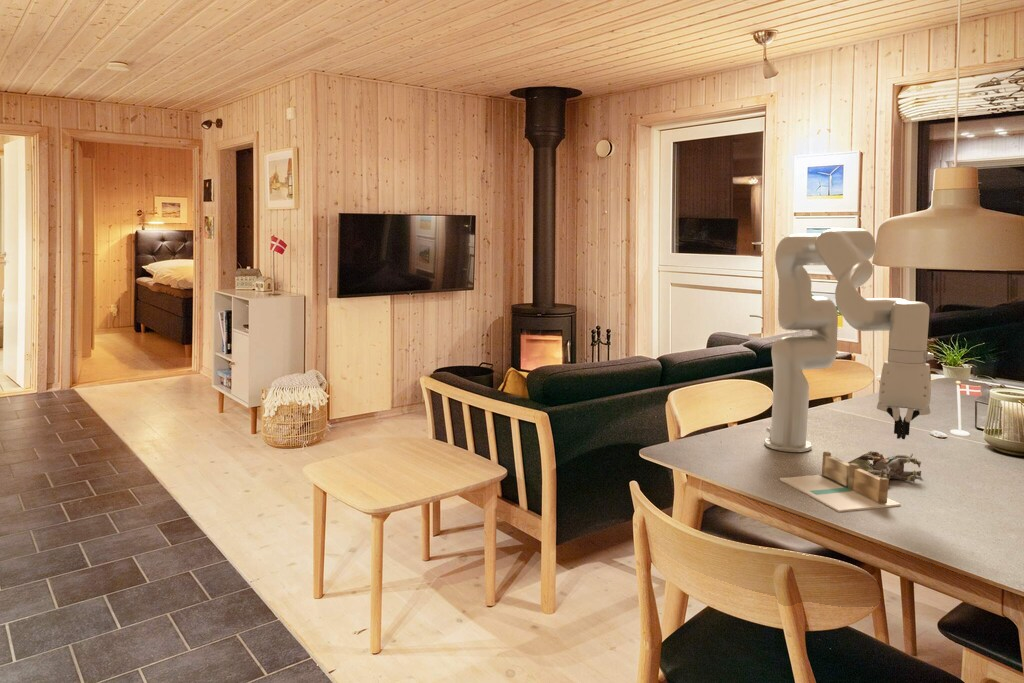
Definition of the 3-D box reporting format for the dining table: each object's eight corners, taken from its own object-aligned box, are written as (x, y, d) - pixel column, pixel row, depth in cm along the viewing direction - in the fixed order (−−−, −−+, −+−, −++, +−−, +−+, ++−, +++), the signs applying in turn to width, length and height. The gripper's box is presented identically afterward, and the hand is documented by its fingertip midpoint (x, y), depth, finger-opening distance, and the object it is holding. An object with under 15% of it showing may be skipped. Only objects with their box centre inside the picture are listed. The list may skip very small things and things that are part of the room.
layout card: (779, 479, 186) (780, 478, 186) (836, 474, 190) (836, 473, 190) (838, 512, 165) (838, 510, 165) (900, 505, 169) (900, 503, 169)
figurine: (908, 472, 177) (833, 459, 187) (907, 496, 178) (833, 482, 189) (928, 448, 192) (858, 437, 202) (927, 470, 193) (857, 458, 204)
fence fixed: (819, 475, 189) (821, 452, 188) (826, 474, 189) (828, 451, 188) (851, 490, 177) (853, 466, 176) (858, 490, 178) (860, 465, 177)
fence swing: (852, 489, 177) (854, 467, 176) (859, 489, 177) (860, 466, 177) (881, 504, 168) (883, 480, 167) (888, 503, 168) (890, 480, 167)
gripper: (946, 357, 167) (939, 438, 170) (871, 352, 175) (866, 429, 177) (945, 362, 161) (938, 446, 163) (867, 356, 168) (862, 437, 171)
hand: (901, 437), depth 170 cm, fingers closed
